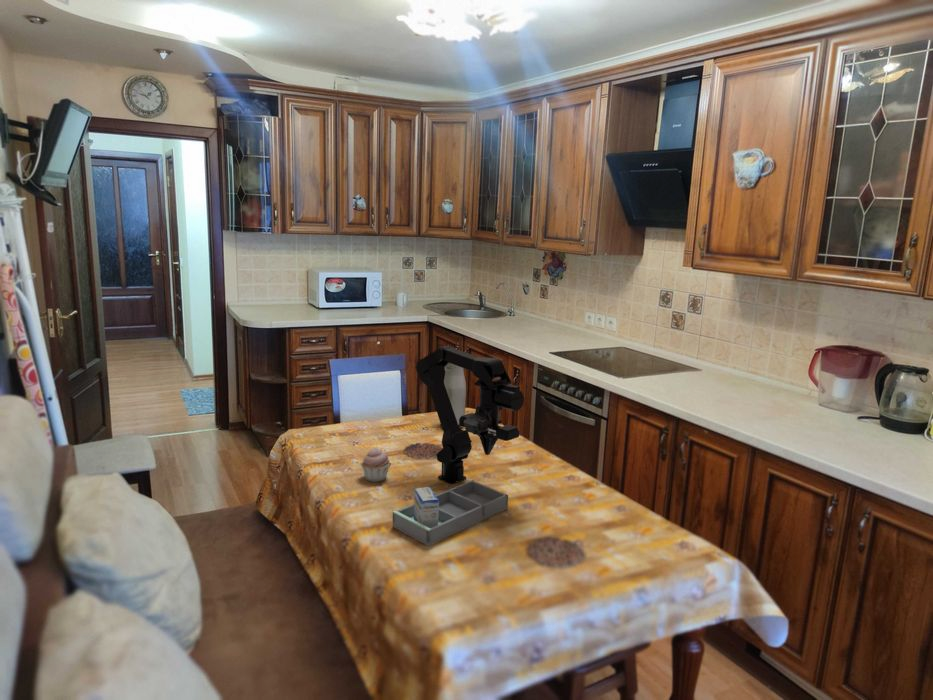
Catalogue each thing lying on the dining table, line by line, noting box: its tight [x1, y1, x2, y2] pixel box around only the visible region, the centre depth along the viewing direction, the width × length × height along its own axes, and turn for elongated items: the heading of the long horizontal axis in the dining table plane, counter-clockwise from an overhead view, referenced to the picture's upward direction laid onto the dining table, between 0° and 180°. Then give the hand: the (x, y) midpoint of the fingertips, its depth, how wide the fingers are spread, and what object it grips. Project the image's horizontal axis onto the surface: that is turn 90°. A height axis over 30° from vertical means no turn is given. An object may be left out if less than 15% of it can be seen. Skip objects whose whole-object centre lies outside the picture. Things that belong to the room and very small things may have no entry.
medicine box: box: [413, 486, 439, 528], centre depth 162 cm, size 8×4×9 cm, turn 20°
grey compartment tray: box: [392, 480, 509, 547], centre depth 169 cm, size 14×30×4 cm, turn 136°
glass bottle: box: [444, 363, 467, 426], centre depth 240 cm, size 10×10×28 cm
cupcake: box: [360, 446, 392, 483], centre depth 192 cm, size 9×9×10 cm
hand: (487, 454), depth 183 cm, fingers closed
